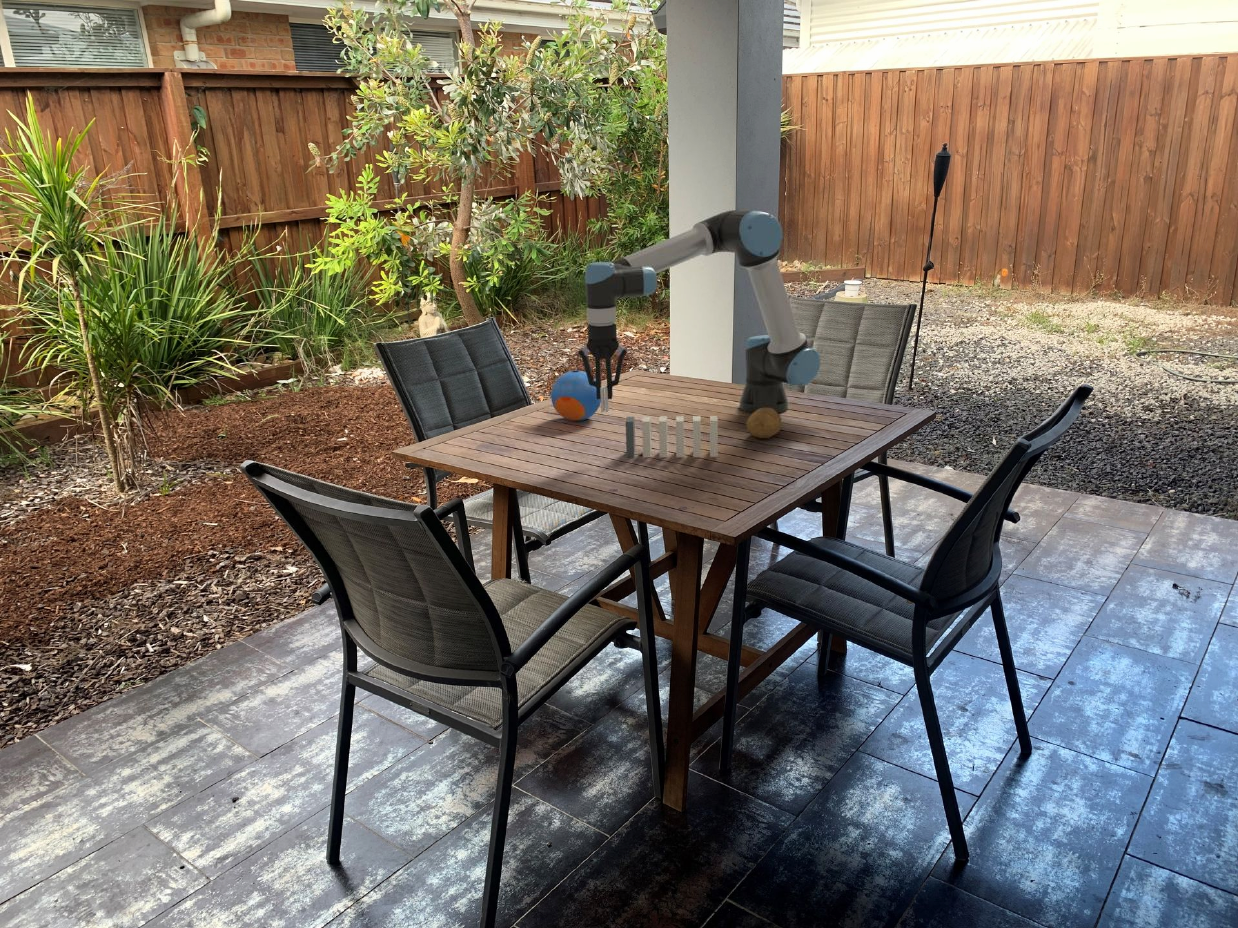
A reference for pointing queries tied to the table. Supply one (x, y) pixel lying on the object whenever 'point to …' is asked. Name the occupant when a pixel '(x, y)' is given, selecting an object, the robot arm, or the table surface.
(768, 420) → the potato
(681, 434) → the domino
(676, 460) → the table surface
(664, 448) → the domino
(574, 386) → the treat dispenser ball
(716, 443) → the domino
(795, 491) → the table surface
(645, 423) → the domino
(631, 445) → the domino
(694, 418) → the domino
